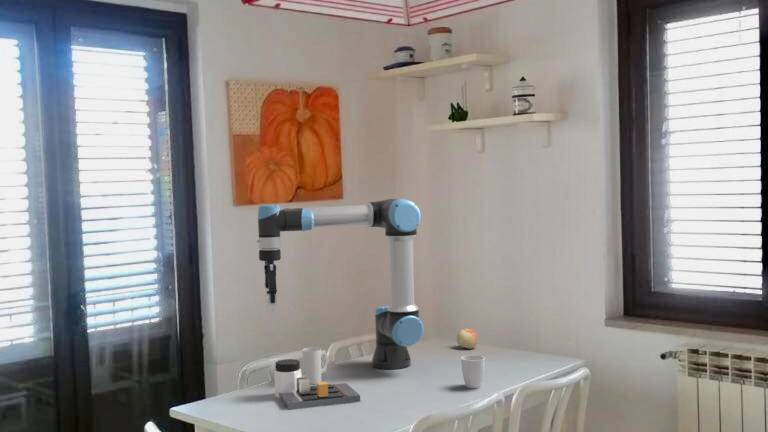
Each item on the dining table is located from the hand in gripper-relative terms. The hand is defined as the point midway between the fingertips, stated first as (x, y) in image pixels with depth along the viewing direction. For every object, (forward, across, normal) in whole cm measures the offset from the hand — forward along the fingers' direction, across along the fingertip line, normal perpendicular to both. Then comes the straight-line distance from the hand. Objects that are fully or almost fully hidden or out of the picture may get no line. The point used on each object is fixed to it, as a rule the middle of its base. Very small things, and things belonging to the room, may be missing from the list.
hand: (271, 309), depth 286 cm
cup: (+28, +20, +67) cm, 75 cm away
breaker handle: (+25, +26, +14) cm, 38 cm away
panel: (+28, +20, +13) cm, 36 cm away
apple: (+28, -40, +85) cm, 98 cm away
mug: (+28, -3, +16) cm, 32 cm away
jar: (+28, +13, +4) cm, 31 cm away
